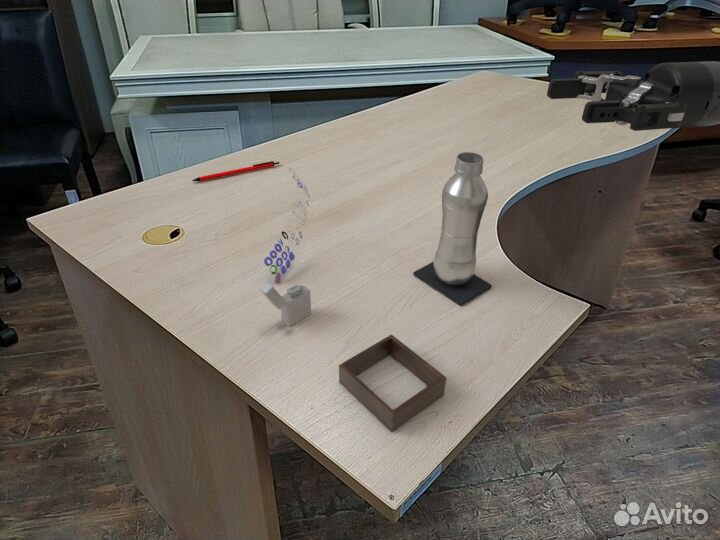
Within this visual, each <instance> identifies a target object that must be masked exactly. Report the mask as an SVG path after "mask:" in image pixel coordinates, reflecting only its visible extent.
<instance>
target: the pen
mask: <svg viewBox="0 0 720 540" xmlns="http://www.w3.org/2000/svg"><path fill="white" fill-rule="evenodd" d="M276 165H280V161H277V162H275V161H273V160H270V161H266V162H261V163H256V164H252V165H251V166H246V167H242V168H237V169H231V170H226V171H221V172H217V173H212V174H207V175H201V176H198V177H196V178H194V179H192V180H191V182H203V181H208V180H215V179H219V178H223V177H227V176H232V175H238V174H242V173H243V174H244V173H247V172H252V171H257V170H262V169H266V168H272V167H275V166H276Z"/></svg>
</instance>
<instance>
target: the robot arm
mask: <svg viewBox="0 0 720 540" xmlns="http://www.w3.org/2000/svg"><path fill="white" fill-rule="evenodd" d="M587 84H589V85H588V86H587ZM602 94H604V95H605V97H604V98H602ZM546 96H547V98H549V99H550V100H563V99H564V100H565V99H566V100H567V99H581V100H587V101H588V102H586V103H585V104H584V108H583V111H582V116H581V120H582V122H584V123H586V124H603V123H615V124H617V125H619V126H626V125H628V124H630V126H629V129H630V130H632V131H634V132H639V131H652V130H653V131H654V130H664V129H665V130H667V129H668V130H669V129H687V128H689V129H690V128H705V127H711V126H715V125H716V126H717V125H720V61H713V60H711V61H682V62H681V61H679V62H678V61H677V62H662V63H659V64H656V65H655V66H653V67H652V68H650V69H649V71H647V73H645V75H644V76H642V77H640V76H637V75H626V76H622V72H621V71H619V70H609V71H608V70H601V71H600V70H596V71H595V70H594V71H593V70H592V71H583V70H579V71H576V72H575V73H574V77H573V78H552V79H551V80H550V81H549V83H548V87H547V92H546ZM716 540H720V535H719V536H718V538H717V539H716Z"/></svg>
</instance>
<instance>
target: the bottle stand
mask: <svg viewBox="0 0 720 540" xmlns="http://www.w3.org/2000/svg"><path fill="white" fill-rule="evenodd" d="M390 355H391V356H392V357H393V358H394V359H395V360H396V361H397V362H398V363H400V364H401V365H402V366H403V367H405V368H406V369H407V370H409V371H410V372H411V373H412V374H413V375H414V376H416V377H417V378H418V379H419V380H421V381H422V382H423V383H424V384H425V385H427V386H426V387H424V388H423V389H422V390H420V391H419V392H417V393H416V394H414V395H413V396H411V397H410V398H409V399H407V400H405V401H404V402H402V403H401V404H400V405H398V406H396V407H395V408H394V409H393V408H391V406H390V405H388V404H387V403H386V401H384V400H383V399H381V398H380V397H379V396H378V395H377V394H376V393H375V392H374V391H373V390H372V389H371V388H369V386H368V385H366V384H365V383H364V381H362V380H361V379H360V378H359V377H357V375H359V374H361V373H362V372H364V371H366V370H367V369H370V367H372V366H373V365H374V366H375V364H377V363H379V362H380V361H382V360H384V359H386V358H387V357H389V356H390ZM446 382H447V377H446V376H445V375H444V374H443V373H442V372H440V371H439V370H438V369H436V368H435V367H434V366H432V365H431V364H430V363H429V362H428V361H426V360H425V359H424V358H423V357H421V356H420V355H418V354H417V353H416V352H415V351H414V350H413V349H411V348H410V347H408V346H407V345H406V344H405V343H404V342H402V341H401V340H400V339H398V338H397V337H395V335H393V334H389V335H388V336H386V337H383V338H382V339H381V340H379V341H378V342H376V343H374V344H372V345H370V346H369V347H367V348H366V349H364V350H362V351H361V352H360V351H359V353H357V354H355V355H354V356H352V357H350V358H349V359H347V360H345V361H344V362H342V363H340V364H339V365H338V383H340V385H342V386H343V387H344V388H345V389H346V390H347V391H348V392H349V393H350V394H351V395H352V396H353V397H354V398H355V399H356V400H357V401H358V402H359V403H360V404H362V406H364V407H365V408H366V409H367V411H369V412H370V413H371V414H372V415H373V416H374V417H375V418H376V419H377V420H378V421H379V422H380V423H381V424H382V425H383V426H384V427H385V428H387V430H389V432H391V433H393V432H394V431H396V430H397V429H398V428H400V427H401V426H402V425H403V424H405V423H406V422H408V421H410V420H411V419H412V418H413V417H415V416H416V415H418V414H419V413H420V412H422V411H423V410H424V409H426V408H427V407H429V406H431V404H433V403H434V402H436V401H437V400H438V399H440V398H442V396H444V395H445V391H446Z"/></svg>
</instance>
